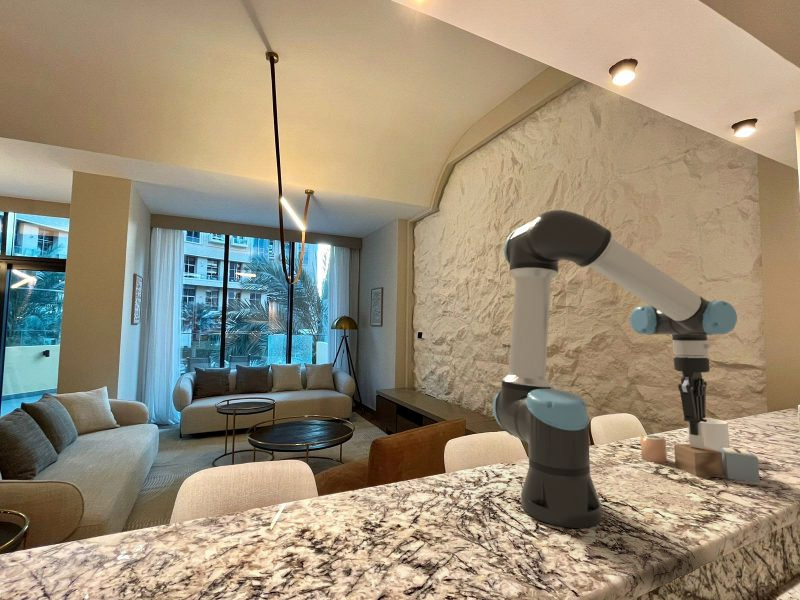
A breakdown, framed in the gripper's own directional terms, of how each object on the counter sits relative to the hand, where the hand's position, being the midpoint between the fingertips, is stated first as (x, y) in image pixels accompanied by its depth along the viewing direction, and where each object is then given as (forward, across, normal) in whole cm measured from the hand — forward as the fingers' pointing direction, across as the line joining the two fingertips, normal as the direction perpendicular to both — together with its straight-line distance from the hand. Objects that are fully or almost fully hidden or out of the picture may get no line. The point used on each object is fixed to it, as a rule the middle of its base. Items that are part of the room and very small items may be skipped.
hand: (697, 446), depth 99 cm
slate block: (+6, +4, -7) cm, 10 cm away
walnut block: (+6, 0, 0) cm, 6 cm away
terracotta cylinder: (+6, +1, +11) cm, 12 cm away
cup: (+6, +20, +2) cm, 22 cm away
